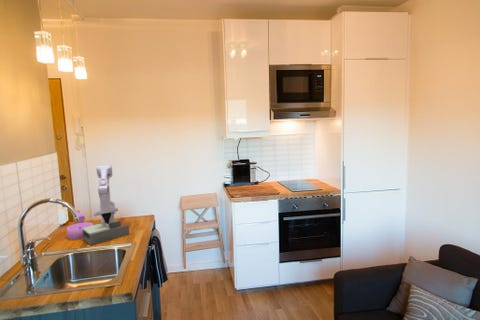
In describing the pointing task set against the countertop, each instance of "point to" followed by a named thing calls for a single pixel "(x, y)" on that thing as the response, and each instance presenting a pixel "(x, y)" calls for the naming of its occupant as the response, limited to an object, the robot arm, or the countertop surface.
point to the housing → (107, 233)
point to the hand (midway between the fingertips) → (107, 224)
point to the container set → (77, 228)
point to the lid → (96, 228)
